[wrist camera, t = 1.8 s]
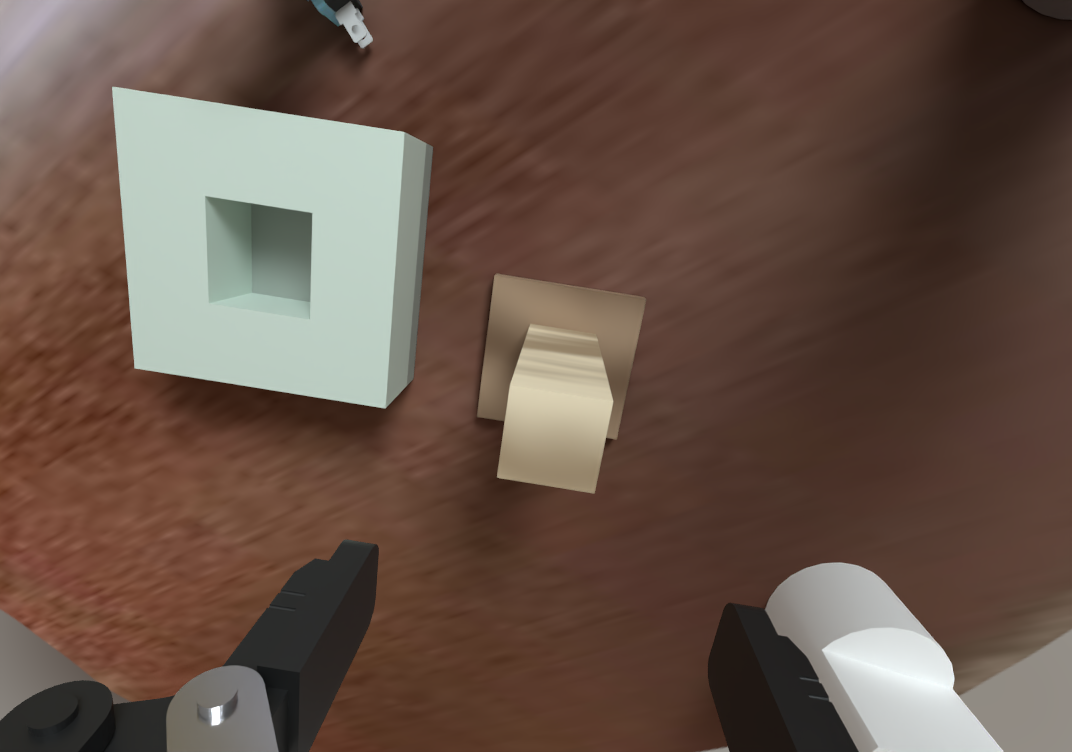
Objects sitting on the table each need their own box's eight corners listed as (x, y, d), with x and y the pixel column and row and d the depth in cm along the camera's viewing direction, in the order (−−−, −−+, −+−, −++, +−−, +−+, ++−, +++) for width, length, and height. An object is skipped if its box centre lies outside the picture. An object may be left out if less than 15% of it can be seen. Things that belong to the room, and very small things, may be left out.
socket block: (191, 109, 30) (112, 86, 25) (432, 146, 30) (404, 132, 25) (200, 344, 34) (134, 368, 29) (413, 378, 34) (385, 408, 29)
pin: (530, 323, 32) (510, 384, 20) (596, 334, 32) (613, 401, 20) (520, 386, 33) (496, 477, 21) (584, 396, 33) (594, 493, 21)
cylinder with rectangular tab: (743, 646, 39) (817, 826, 27) (797, 546, 36) (904, 700, 25) (857, 680, 39) (977, 872, 28) (918, 584, 36) (1079, 752, 25)
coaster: (496, 273, 32) (494, 275, 31) (643, 297, 32) (646, 299, 31) (479, 411, 35) (476, 416, 34) (615, 433, 34) (616, 439, 33)
